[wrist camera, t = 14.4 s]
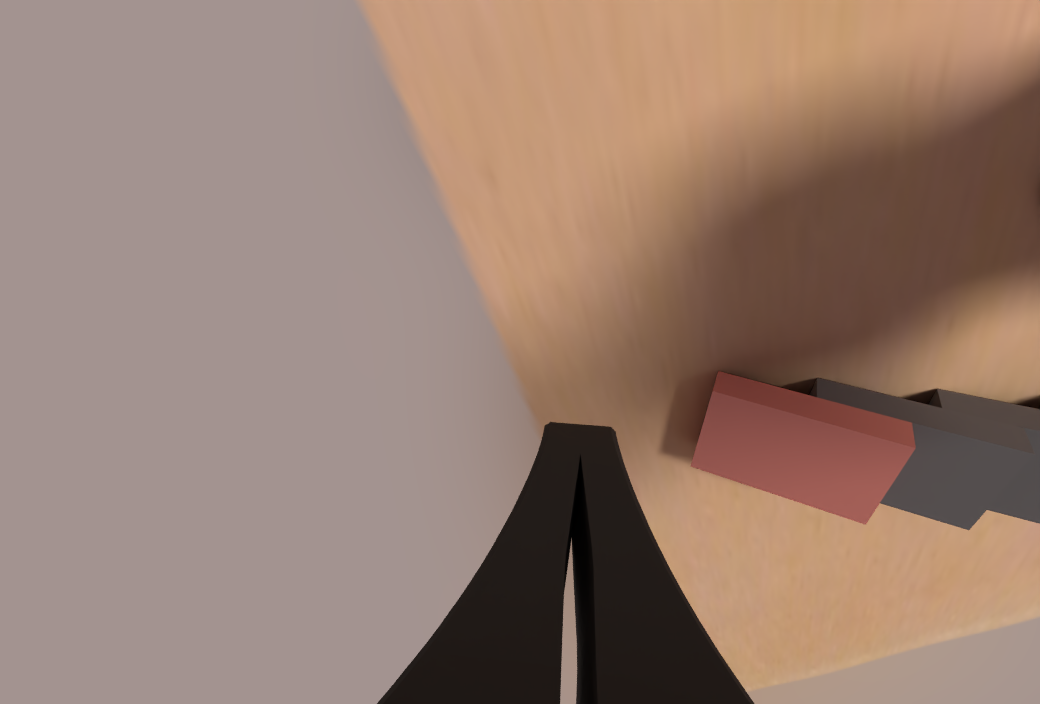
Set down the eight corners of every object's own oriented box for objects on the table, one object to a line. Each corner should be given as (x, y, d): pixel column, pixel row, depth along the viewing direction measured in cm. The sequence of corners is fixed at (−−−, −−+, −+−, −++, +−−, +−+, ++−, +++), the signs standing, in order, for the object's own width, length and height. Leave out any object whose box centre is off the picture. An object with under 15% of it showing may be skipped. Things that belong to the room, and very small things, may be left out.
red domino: (718, 371, 22) (911, 422, 20) (696, 445, 25) (864, 498, 23) (712, 391, 21) (915, 448, 19) (690, 466, 24) (865, 524, 22)
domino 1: (817, 377, 22) (1023, 428, 20) (784, 452, 25) (962, 503, 22) (816, 398, 21) (1034, 454, 19) (782, 473, 24) (969, 530, 21)
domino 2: (937, 388, 22) (1169, 435, 19) (895, 463, 24) (1093, 513, 22) (942, 410, 21) (1188, 462, 18) (898, 486, 23) (1107, 541, 21)
